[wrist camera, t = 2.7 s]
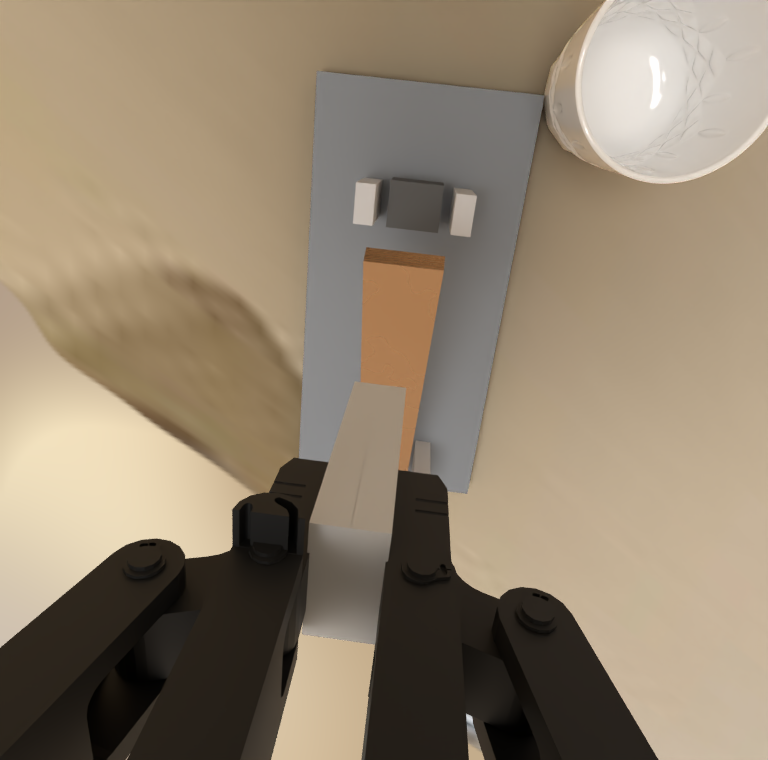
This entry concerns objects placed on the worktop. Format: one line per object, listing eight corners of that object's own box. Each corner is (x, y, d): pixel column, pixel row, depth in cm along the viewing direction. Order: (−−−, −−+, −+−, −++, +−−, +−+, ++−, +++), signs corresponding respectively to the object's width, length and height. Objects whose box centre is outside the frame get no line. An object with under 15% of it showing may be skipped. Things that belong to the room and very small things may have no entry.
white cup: (714, 48, 29) (849, 3, 19) (629, 195, 32) (709, 216, 22) (580, -21, 28) (653, -101, 19) (505, 136, 31) (537, 133, 22)
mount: (322, 74, 30) (297, 58, 25) (539, 97, 30) (563, 87, 25) (302, 460, 40) (282, 510, 35) (465, 481, 40) (471, 535, 35)
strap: (364, 243, 21) (359, 264, 20) (448, 253, 21) (446, 274, 20) (358, 471, 36) (356, 488, 36) (407, 478, 36) (405, 494, 35)
